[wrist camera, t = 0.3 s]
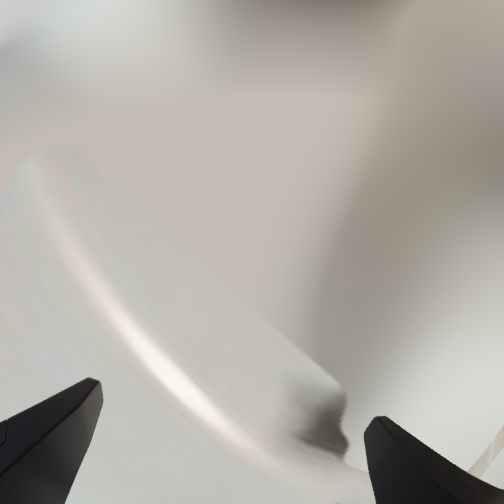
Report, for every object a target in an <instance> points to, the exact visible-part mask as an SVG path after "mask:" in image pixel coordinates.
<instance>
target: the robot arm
mask: <svg viewBox="0 0 504 504" xmlns="http://www.w3.org/2000/svg"><path fill="white" fill-rule="evenodd" d="M102 405H103V393H102V386H101V382H100V381H99V380H96V379H93V378H86V379H84V380H82V381H80V382H78V383H76V384H75V385H73V386H71V387H69V388H67V389H65V390H63V391H61V392H59V393H57V394H56V395H54V396H52V397H50V398H48V399H46V400H44V401H42V402H40V403H38V404H36V405H34V406H32V407H30V408H28V409H26V410H24V411H22V412H20V413H18V414H16V415H14V416H12V417H10V418H8V420H4V421H2V422H0V504H65V502H66V499H67V497H68V494H69V492H70V489H71V487H72V484H73V482H74V479H75V477H76V475H77V472H78V470H79V468H80V465H81V463H82V461H83V458H84V456H85V454H86V452H87V449H88V447H89V445H90V442H91V440H92V437H93V433H94V430H95V427H96V424H97V421H98V417H99V414H100V411H101V408H102ZM364 442H365V449H366V456H367V464H368V470H369V475H370V479H371V483H372V487H373V491H374V495H375V500H376V504H504V490H503V489H499V488H497V487H494V486H492V485H490V484H488V483H486V482H484V481H482V480H480V479H478V478H476V477H474V476H472V475H471V474H469V473H467V472H466V471H464V470H462V469H461V468H459V467H458V466H456V465H455V464H453V463H451V462H450V461H449V460H447V459H446V458H444V457H443V456H441V455H440V454H438V453H437V452H435V451H434V450H432V449H431V448H430V447H428V446H427V445H425V444H424V443H422V442H421V441H420V440H418V439H417V438H415V437H414V436H412V435H411V434H410V433H408V432H407V431H405V430H404V429H403V428H401V427H400V426H399V425H397V424H396V423H394V422H393V421H392V420H390V419H389V418H388V417H386V416H377V417H374V418H373V420H372V421H371V423H370V424H369V426H368V427H367V429H366V431H365V432H364Z"/></svg>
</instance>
